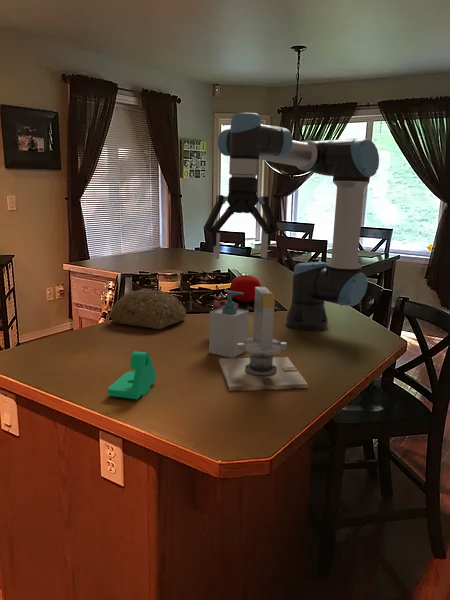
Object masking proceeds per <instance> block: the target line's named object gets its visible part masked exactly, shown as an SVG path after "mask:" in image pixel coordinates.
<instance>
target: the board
mask: <svg viewBox="0 0 450 600" xmlns="http://www.w3.org/2000/svg"><path fill="white" fill-rule="evenodd" d="M218 364H219V366H220V368H221V371H222V374H223V378H224V380H225V383H226V385H227V388H228V390H229V392H233V391H234V390H235V391H236V390H237V391H238V390H241V391H263V390H262V389H265V390H264V391H266V389H274V390H292V389H291V388H307V389H308V386H309V383H307V381H306V380H305V378H304V377H303V376H302V374H301V373H300V371H299V370H298V368H297V367H296V366H295V365H294V364H293V363H292V361H291V359H290V358H289V357H288V356H283V357H282V356H281V357H280V356H278V357H277V356H275V357H274V356H273V363H272V365H274V366H276V368H277V372H276V373H275V374H274V375H271V376H254V375H251V374H249V373H247V372H246V371H245V366H246V365H247V364H250V357H235V358H230V357H225V358H221V357H220V358H219V360H218Z"/></svg>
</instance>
